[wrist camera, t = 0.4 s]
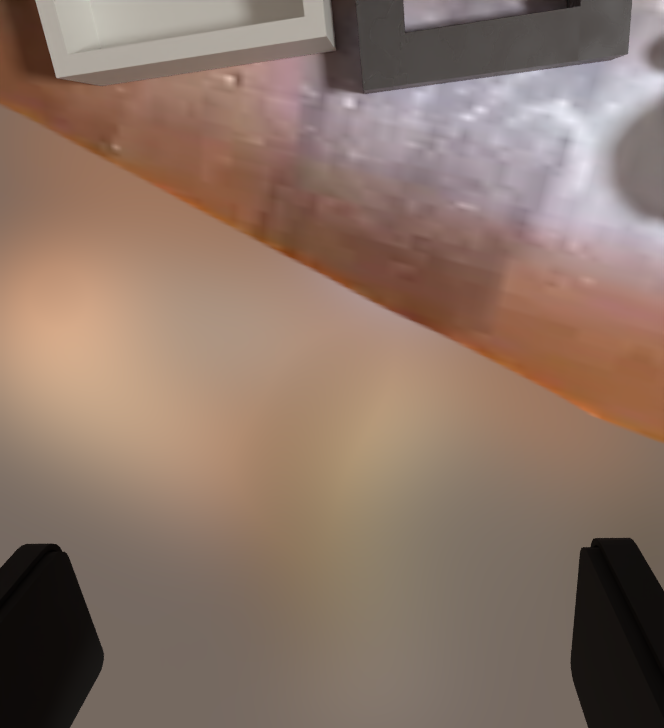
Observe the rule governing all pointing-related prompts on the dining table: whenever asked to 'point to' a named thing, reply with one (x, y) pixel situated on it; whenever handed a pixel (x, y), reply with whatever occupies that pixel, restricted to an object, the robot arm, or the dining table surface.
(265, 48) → the bin
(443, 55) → the collar block
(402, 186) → the dining table surface
